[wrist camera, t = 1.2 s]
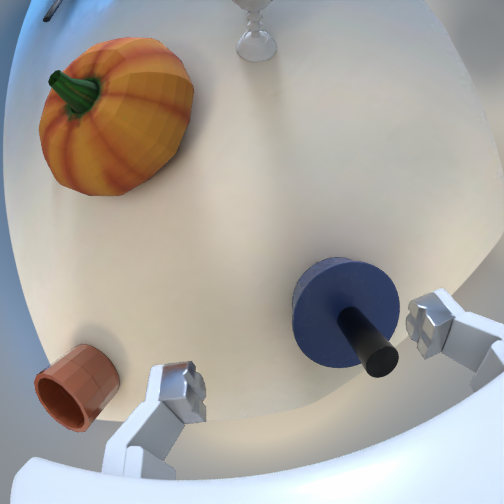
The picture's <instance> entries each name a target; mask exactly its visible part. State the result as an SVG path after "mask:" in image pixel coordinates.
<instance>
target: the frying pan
mask: <svg viewBox="0 0 504 504" xmlns="http://www.w3.org/2000/svg"><path fill="white" fill-rule="evenodd" d="M62 1H63V0H55V2H54V3H53V5H52V6H51V8H50V9H49V11H48V12H47V14H46V15H45V17H44V18H43V22H49V21H50V19H51V18H52V16H53V15H54V13H55V11H56V10H57V8H58V7H59V5H60V4H61V2H62Z"/></svg>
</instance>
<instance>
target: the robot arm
mask: <svg viewBox="0 0 504 504" xmlns="http://www.w3.org/2000/svg"><path fill="white" fill-rule="evenodd" d="M408 309H409V311H410V313H409V314H408V316H407V317H406V330H407V332H408V335H409V336H410V338H411V339H412V340H413V341H416V342H417V349H418V350H419V352H420V353H421V355H422V356H423V358H424V359H427V358H429V357H432V356H434V355H436V354H438V353H440V352H442V353H443V354H445V355H446V356H448V357H450V358H451V359H453V360H455V361H457V362H459V363H460V364H462V365H464V366H465V367H467V368H469V369H470V370H472V371H474V372H475V373H476V374H475V375H474V377H473V379H472V380H471V383H470V386H471V387H472V389H473V391H474V394H472V395H471V396H469V397H468V398H466V399H464V400H463V401H462V402H460V403H458V404H457V405H455V406H453V407H452V408H450V409H448V410H446V411H445V412H443V413H441V414H439V415H438V416H436V417H434V418H432V419H430V420H428V421H427V422H424V423H423V424H421V425H419V426H417V427H415V428H412V429H410V430H408V431H406V432H404V433H402V434H400V435H397V436H395V437H393V438H391V439H388V440H386V441H383V442H381V443H378V444H376V445H373V446H371V447H368V448H365V449H362V450H360V451H356V452H354V453H351V454H348V455H344V456H341V457H338V458H335V459H331V460H328V461H324V462H320V463H317V464H313V465H309V466H304V467H300V468H295V469H291V470H286V471H280V472H275V473H269V474H263V475H255V476H248V477H239V478H229V479H214V480H176V470H175V469H174V468H173V467H171V466H170V465H168V464H166V463H165V462H163V461H164V459H165V458H166V456H167V455H168V453H169V451H170V450H171V448H172V446H173V445H174V443H175V441H176V440H177V438H178V436H179V435H180V433H181V431H182V429H183V428H184V426H185V425H184V424H190V423H199V422H206V406H205V405H204V403H203V400H204V399H205V397H206V387H205V382H204V380H203V377H202V376H201V374H200V373H198V372H196V366H195V365H194V363H193V362H192V361H187V362H179V363H171V364H163V365H154V366H152V368H151V370H150V375H149V380H148V386H147V391H146V397H145V402H141V403H140V404H139V405H138V407H137V408H136V409H135V410H134V411H133V412H132V414H131V415H130V416H129V417H128V418H127V420H126V421H125V422H124V423H123V424H122V425H121V427H120V428H119V429H118V430H117V431H116V432H115V434H114V435H113V436H112V437H111V438H110V439H109V441H108V442H107V443H106V448H105V453H104V460H103V465H102V472H101V473H99V472H93V471H88V470H84V469H79V468H75V467H71V466H67V465H63V464H59V463H56V462H52V461H49V460H46V459H42V458H38V457H34V458H31V459H30V460H29V461H28V462H27V463H26V464H25V465H24V466H23V467H22V468H21V469H20V470H19V471H18V473H17V474H16V475H15V478H14V481H13V485H12V491H11V500H10V504H504V324H501V323H499V322H496V321H493V320H491V319H488V318H485V317H483V316H480V315H477V314H474V313H472V312H469V311H468V312H465V311H464V310H463V309H462V308H461V307H460V305H459V304H458V303H457V302H456V301H455V300H454V299H453V298H452V297H451V296H450V295H449V294H448V293H447V292H446V290H444V289H442V288H440V289H438V290H436V291H433V292H431V293H428V294H426V295H423V296H421V297H419V298H416V299H414V300H411V301H410V303H409V306H408Z"/></svg>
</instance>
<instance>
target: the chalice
mask: <svg viewBox="0 0 504 504" xmlns="http://www.w3.org/2000/svg"><path fill="white" fill-rule="evenodd" d="M232 1H233V2H235V3H236V4H237V5H238V6H239V7H241V8H242V9H244V10H247V11H249V14H248V15H247V19H248V20H250V22H249V23H248V24H247V28H248V29H249V30H251V31H248V32H246V33H245V34H243V36H242V37H241V39H240V40H239V42H238V43H237V47H236V49H237V53H238V54H239V55H240V57H242V58H243V59H245V60H248V61H253V62H259V61H265V60H267V59H269V58H271V57H272V56H273V55H274V54H275V52H276V48H277V46H276V43H275V42H274V40H273V39H272V38H271V37H270V35H269V34H268V33H266V32H265V31H262V30H260V29H262V28H263V24H262V23H261V22H259V20H260V19H261V18H262V15H261V14H260V13H259V10H262V9H264V8H266V7H267V5H268V4H269V3H270V2H271V1H272V0H232Z"/></svg>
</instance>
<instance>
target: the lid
mask: <svg viewBox="0 0 504 504" xmlns="http://www.w3.org/2000/svg"><path fill="white" fill-rule="evenodd" d="M399 312H400V303H399V297H398V293H397V290H396V287H395V285H394V284H393V282H392V280H391V279H390V278H389V277H388V275H387V274H385V273H384V272H383V271H382V270H380V269H379V268H377V267H375V266H373V265H371V264H368V263H365V262H360V261H345V262H340V263H336V264H333V265H331V266H329V267H326V268H325V269H323V270H321V271H320V272H318V273H317V274H316V275H314V276H313V277H312V278H311V279H310V280H309V281H308V282H307V284H306V285H305V286H304V287H303V289H302V290H301V292H300V294H299V296H298V298H297V300H296V303H295V306H294V309H293V315H292V326H293V332H294V336H295V339H296V342H297V344H298V346H299V347H300V349H301V350H302V352H303V353H304V354H305V355H306V356H307V357H308V358H310V359H311V360H313V361H314V362H316V363H318V364H320V365H323V366H326V367H332V368H346V367H351V366H355V365H358V364H361V363H362V365H363V366H364V368H365V370H366V371H367V373H368V374H369V375H370V376H372V377H376V378H379V377H383V376H386V375H388V374H389V373H390V372H392V370H393V369H394V368H395V367H396V365H397V363H398V359H399V356H398V352H397V350H396V349H395V348H394V347H393V346H392V344H391V343H390V342H389V340H390V338H391V337H392V335H393V333H394V331H395V328H396V326H397V323H398V319H399Z"/></svg>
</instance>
